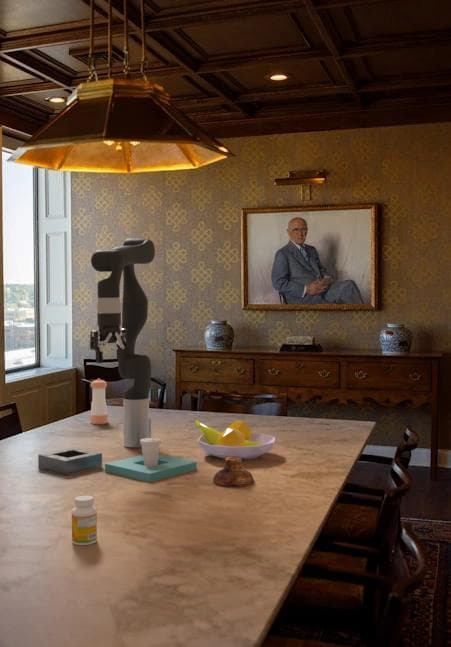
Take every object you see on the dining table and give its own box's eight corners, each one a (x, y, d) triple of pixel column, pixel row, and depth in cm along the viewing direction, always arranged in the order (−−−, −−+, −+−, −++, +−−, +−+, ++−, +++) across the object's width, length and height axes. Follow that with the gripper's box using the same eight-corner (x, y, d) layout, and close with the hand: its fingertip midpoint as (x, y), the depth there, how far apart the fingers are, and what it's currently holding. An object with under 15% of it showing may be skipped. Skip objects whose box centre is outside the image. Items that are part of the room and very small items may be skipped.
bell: (206, 480, 208) (206, 455, 208) (243, 476, 213) (243, 452, 213) (222, 490, 198) (222, 464, 198) (261, 485, 203) (261, 460, 202)
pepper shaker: (106, 424, 302) (105, 379, 301) (89, 424, 302) (88, 379, 301) (109, 421, 309) (108, 377, 309) (92, 421, 309) (91, 377, 309)
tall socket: (74, 461, 233) (74, 447, 233) (102, 467, 224) (101, 453, 224) (38, 468, 222) (38, 454, 222) (65, 475, 213) (65, 461, 213)
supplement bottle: (73, 538, 158) (73, 494, 157) (98, 537, 158) (97, 494, 158) (70, 546, 152) (69, 501, 152) (95, 545, 153) (95, 500, 152)
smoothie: (157, 473, 216) (157, 427, 215) (137, 472, 217) (137, 427, 217) (163, 468, 222) (163, 424, 222) (144, 467, 223) (143, 423, 223)
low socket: (152, 460, 234) (152, 452, 234) (196, 469, 221) (196, 461, 221) (105, 471, 218) (104, 463, 218) (149, 482, 205) (149, 473, 205)
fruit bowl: (291, 455, 241) (291, 421, 241) (238, 469, 221) (238, 433, 221) (230, 443, 260) (230, 413, 260) (176, 456, 240) (176, 422, 240)
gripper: (117, 311, 237) (118, 359, 237) (84, 312, 226) (85, 363, 226) (133, 311, 232) (134, 360, 233) (99, 312, 221) (100, 364, 222)
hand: (109, 361), depth 230 cm, fingers open, 8 cm apart
